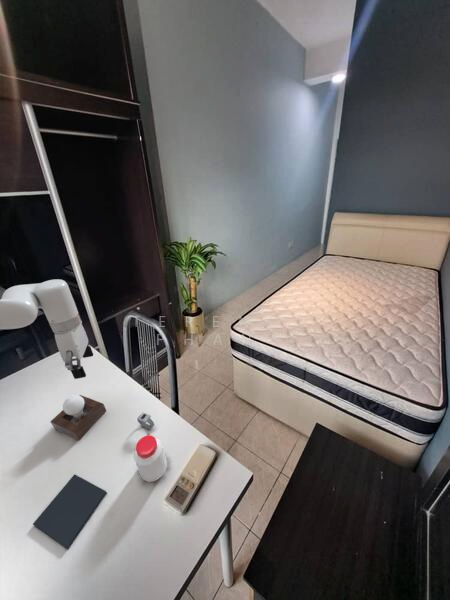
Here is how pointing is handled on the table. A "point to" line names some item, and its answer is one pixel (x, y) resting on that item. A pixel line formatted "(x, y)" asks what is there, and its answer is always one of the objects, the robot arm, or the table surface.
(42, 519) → the mat
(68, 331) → the robot arm
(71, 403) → the lightbulb
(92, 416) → the socket block
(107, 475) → the table surface
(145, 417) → the wristwatch
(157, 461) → the pill bottle
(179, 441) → the table surface
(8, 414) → the table surface
